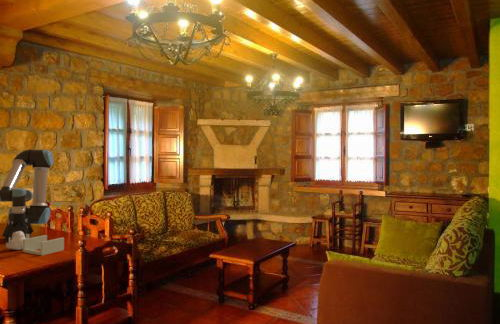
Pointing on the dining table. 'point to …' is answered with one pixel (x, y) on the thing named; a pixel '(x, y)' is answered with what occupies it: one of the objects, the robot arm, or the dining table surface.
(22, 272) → the dining table surface
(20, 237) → the figurine
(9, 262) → the dining table surface
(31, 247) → the beige open frame
